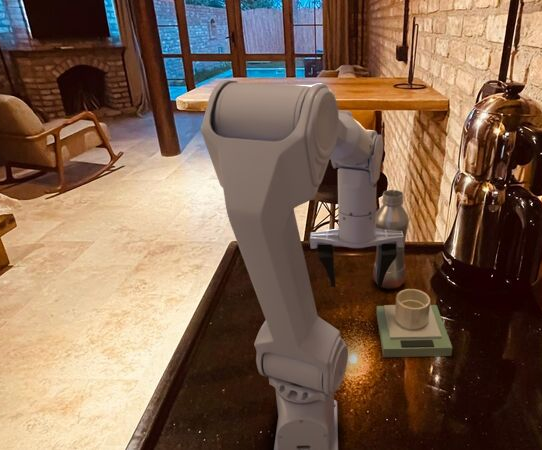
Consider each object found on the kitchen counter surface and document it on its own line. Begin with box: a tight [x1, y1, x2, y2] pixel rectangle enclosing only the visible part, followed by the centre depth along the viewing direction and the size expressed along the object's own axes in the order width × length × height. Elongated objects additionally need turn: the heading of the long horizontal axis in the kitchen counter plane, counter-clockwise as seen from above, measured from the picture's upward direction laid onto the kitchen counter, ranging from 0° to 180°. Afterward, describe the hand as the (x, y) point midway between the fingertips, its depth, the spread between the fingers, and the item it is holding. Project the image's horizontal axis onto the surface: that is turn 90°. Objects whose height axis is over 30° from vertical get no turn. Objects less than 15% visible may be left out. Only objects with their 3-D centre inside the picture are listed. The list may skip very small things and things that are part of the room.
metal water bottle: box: [372, 189, 410, 290], centre depth 79 cm, size 6×7×20 cm
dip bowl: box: [395, 288, 431, 329], centre depth 69 cm, size 6×6×4 cm
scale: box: [375, 304, 453, 358], centre depth 70 cm, size 11×11×2 cm
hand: (356, 283), depth 68 cm, fingers open, 7 cm apart
